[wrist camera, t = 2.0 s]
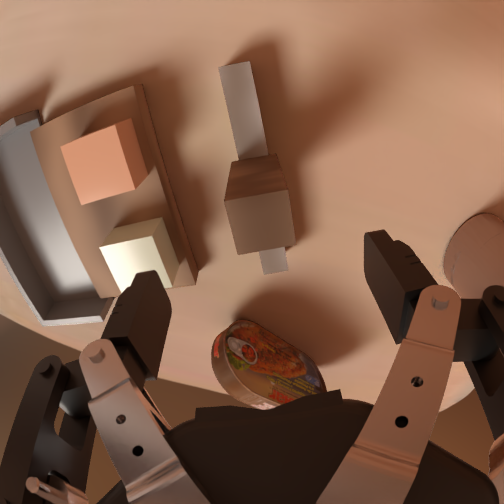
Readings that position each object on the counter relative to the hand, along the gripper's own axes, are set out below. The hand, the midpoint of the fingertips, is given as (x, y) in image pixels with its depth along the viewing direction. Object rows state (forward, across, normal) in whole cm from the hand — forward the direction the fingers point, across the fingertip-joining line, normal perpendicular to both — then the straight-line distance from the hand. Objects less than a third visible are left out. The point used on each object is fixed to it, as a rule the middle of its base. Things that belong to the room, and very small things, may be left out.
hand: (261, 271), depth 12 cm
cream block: (+12, +10, +4) cm, 16 cm away
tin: (+14, +2, +20) cm, 25 cm away
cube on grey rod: (+14, 0, 0) cm, 14 cm away
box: (+14, +21, 0) cm, 25 cm away
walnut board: (+14, +12, 0) cm, 18 cm away
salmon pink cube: (+12, +10, -4) cm, 16 cm away
